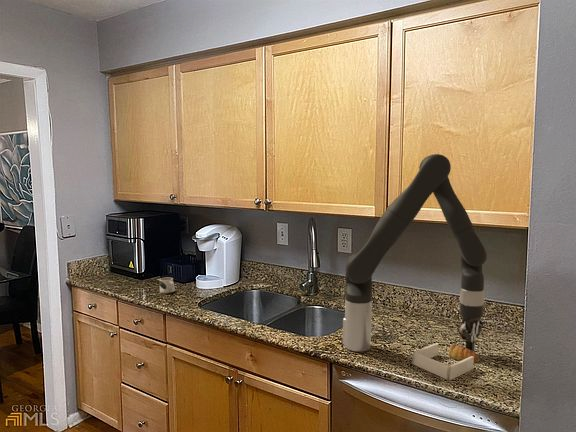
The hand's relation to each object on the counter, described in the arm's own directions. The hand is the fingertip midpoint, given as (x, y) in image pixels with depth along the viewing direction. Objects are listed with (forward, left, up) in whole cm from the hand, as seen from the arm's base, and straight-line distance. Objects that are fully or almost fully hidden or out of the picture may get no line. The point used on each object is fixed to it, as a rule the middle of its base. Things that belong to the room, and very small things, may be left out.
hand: (469, 350), depth 148 cm
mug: (-132, -57, -1) cm, 144 cm away
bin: (0, -15, -1) cm, 15 cm away
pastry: (0, -5, -2) cm, 5 cm away
